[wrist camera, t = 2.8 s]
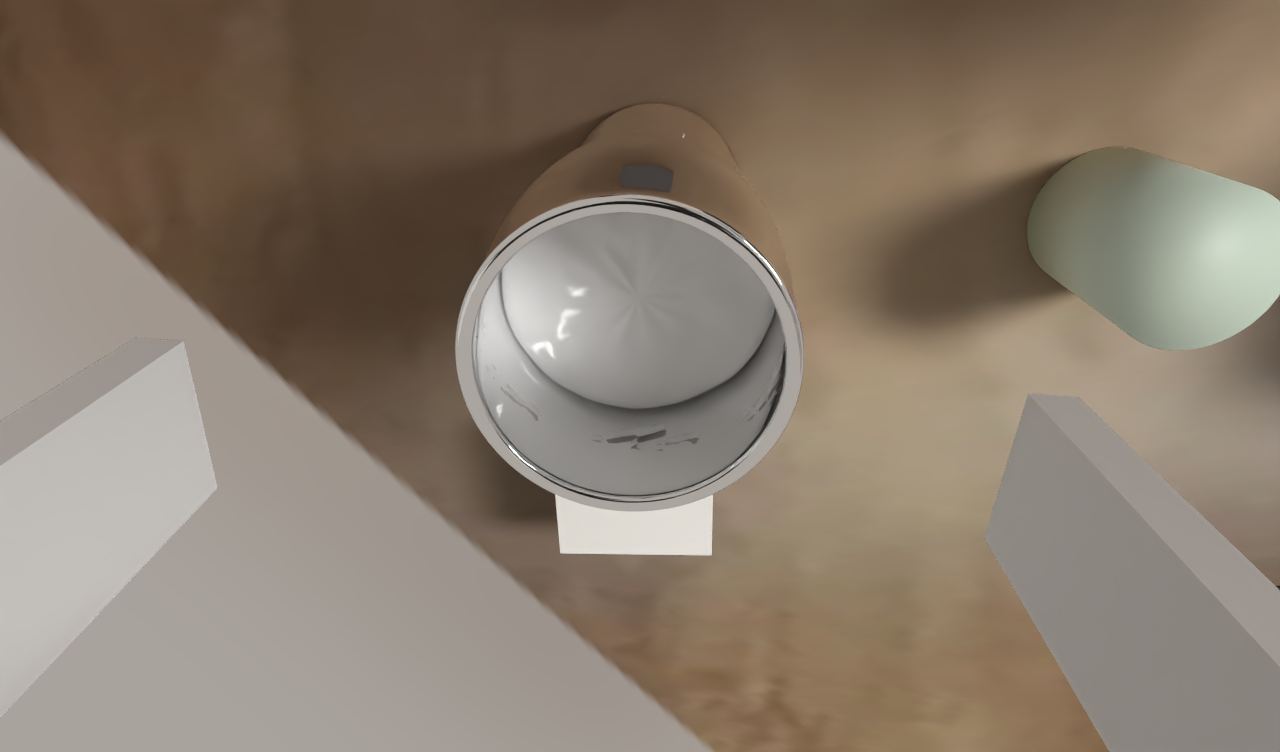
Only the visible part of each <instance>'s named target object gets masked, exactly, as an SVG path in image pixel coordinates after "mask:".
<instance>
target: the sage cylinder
mask: <svg viewBox="0 0 1280 752" xmlns="http://www.w3.org/2000/svg"><path fill="white" fill-rule="evenodd" d="M1027 241H1028V246H1029V249H1030V252H1031V255H1032V257H1033V258H1034V260H1035V262H1036V263H1037V264H1038V266H1039V267H1040V268H1041V269H1042V270H1043V271H1044V272H1046V273H1047V274H1048V275H1049V276H1051V277H1052V278H1053V279H1055V280H1056V281H1057V282H1059V283H1060V284H1061V285H1063V286H1064V287H1065V288H1067V289H1068V290H1069V291H1071V292H1072V293H1073V294H1075V295H1076V296H1077V297H1079V298H1080V299H1082V300H1083V301H1084V302H1086V303H1087V304H1088V305H1090V306H1091V307H1092V308H1094V309H1095V310H1096V311H1098V312H1099V313H1100V314H1102V315H1103V316H1104V317H1106V318H1107V319H1108V320H1110V321H1111V322H1112V323H1114V324H1115V325H1116V326H1118V327H1119V328H1120V329H1122V330H1123V331H1124V332H1126V333H1127V334H1128V335H1130V336H1131V337H1132V338H1134V339H1136V340H1137V341H1139V342H1141V343H1143V344H1145V345H1148V346H1150V347H1154V348H1158V349H1163V350H1177V351H1182V350H1192V349H1197V348H1202V347H1206V346H1209V345H1212V344H1215V343H1218V342H1220V341H1223V340H1225V339H1227V338H1229V337H1231V336H1233V335H1235V334H1237V333H1239V332H1240V331H1242V330H1243V329H1245V328H1246V327H1248V326H1249V325H1251V324H1252V323H1253V322H1254V321H1256V320H1257V319H1258V318H1259V317H1260V316H1261V315H1262V314H1264V313H1265V312H1266V311H1267V310H1268V309H1269V308H1270V306H1271V305H1272V304H1273V303H1274V302H1275V300H1276V299H1277V298H1278V296H1279V295H1280V201H1279V200H1278V199H1276V198H1275V197H1274V196H1272V195H1271V194H1269V193H1267V192H1265V191H1263V190H1261V189H1258V188H1255V187H1252V186H1249V185H1246V184H1243V183H1240V182H1237V181H1234V180H1231V179H1228V178H1225V177H1221V176H1218V175H1215V174H1212V173H1209V172H1206V171H1203V170H1200V169H1197V168H1194V167H1191V166H1188V165H1184V164H1181V163H1178V162H1175V161H1172V160H1169V159H1166V158H1163V157H1160V156H1157V155H1154V154H1151V153H1147V152H1144V151H1141V150H1138V149H1134V148H1129V147H1107V148H1101V149H1097V150H1093V151H1091V152H1088V153H1085V154H1083V155H1081V156H1079V157H1077V158H1075V159H1073V160H1072V161H1070V162H1069V163H1067V164H1066V165H1064V166H1063V167H1062V168H1060V169H1059V170H1058V171H1057V172H1056V173H1055V174H1054V175H1053V176H1052V177H1051V178H1050V179H1049V180H1048V181H1047V182H1046V183H1045V185H1044V186H1043V187H1042V189H1041V190H1040V192H1039V193H1038V195H1037V197H1036V199H1035V201H1034V203H1033V205H1032V208H1031V211H1030V213H1029V218H1028V222H1027Z"/></svg>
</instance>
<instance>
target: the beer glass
mask: <svg viewBox="0 0 1280 752" xmlns="http://www.w3.org/2000/svg"><path fill="white" fill-rule="evenodd" d="M804 355H805V354H804V340H803V333H802V327H801V323H800V319H799V315H798V312H797V307H796V300H795V293H794V288H793V282H792V276H791V271H790V267H789V264H788V260H787V257H786V254H785V250H784V247H783V244H782V241H781V238H780V235H779V233H778V230H777V228H776V226H775V224H774V222H773V220H772V218H771V216H770V214H769V213H768V211H767V209H766V207H765V206H764V204H763V202H762V200H761V199H760V197H759V196H758V194H757V193H756V191H755V190H754V189H753V187H752V186H751V185H750V184H749V182H748V181H747V180H746V179H745V178H744V177H743V176H742V175H741V174H740V173H739V172H738V171H737V169H736V165H735V161H734V159H733V156H732V154H731V151H730V150H729V148H728V146H727V144H726V143H725V141H724V139H723V138H722V137H721V135H720V134H719V133H718V132H717V131H716V130H715V129H714V128H713V127H712V126H711V125H710V124H709V123H708V122H707V121H705V120H704V119H703V118H701V117H700V116H698V115H696V114H695V113H693V112H691V111H688V110H686V109H684V108H681V107H677V106H673V105H668V104H659V103H649V104H640V105H635V106H631V107H628V108H625V109H622V110H620V111H618V112H616V113H614V114H612V115H611V116H609V117H608V118H606V119H605V120H604V121H602V122H601V123H600V124H599V125H598V126H597V127H596V128H595V129H594V130H593V131H592V132H591V133H590V134H589V135H588V136H587V138H586V139H585V140H584V142H583V143H582V145H581V147H579V148H577V149H575V150H573V151H571V152H570V153H568V154H566V155H565V156H563V157H562V158H560V159H559V160H557V161H556V162H555V163H554V164H552V165H551V166H550V167H549V168H548V169H547V170H546V171H545V172H543V173H542V174H541V175H540V176H539V177H538V178H537V179H536V180H535V181H534V182H533V183H532V184H531V185H530V186H529V187H528V188H527V189H526V190H525V192H524V193H523V194H522V195H521V197H520V198H519V199H518V200H517V202H516V203H515V205H514V206H513V208H512V209H511V211H510V212H509V214H508V215H507V217H506V218H505V220H504V221H503V223H502V224H501V226H500V228H499V230H498V231H497V233H496V235H495V237H494V239H493V241H492V243H491V245H490V247H489V249H488V251H487V253H486V256H485V258H484V260H483V262H482V264H481V265H480V267H479V268H478V270H477V272H476V273H475V275H474V277H473V279H472V280H471V282H470V284H469V287H468V289H467V291H466V293H465V296H464V299H463V302H462V305H461V308H460V312H459V316H458V321H457V327H456V335H455V360H456V369H457V375H458V380H459V384H460V388H461V391H462V394H463V397H464V400H465V403H466V405H467V407H468V410H469V412H470V414H471V416H472V418H473V420H474V421H475V423H476V425H477V427H478V428H479V430H480V431H481V433H482V434H483V436H484V437H485V438H486V440H487V441H488V442H489V444H490V445H491V446H492V447H493V448H494V450H495V451H496V452H497V453H498V454H499V455H500V456H501V457H502V458H503V459H504V460H505V461H506V462H507V463H508V464H509V465H510V466H512V467H513V468H514V469H515V470H516V471H518V472H519V473H520V474H522V475H523V476H524V477H526V478H527V479H529V480H530V481H532V482H533V483H535V484H537V485H538V486H540V487H542V488H544V489H546V490H547V491H549V492H551V493H554V494H556V495H558V496H560V497H563V498H565V499H568V500H571V501H574V502H577V503H580V504H583V505H587V506H591V507H596V508H601V509H607V510H616V511H654V510H662V509H668V508H673V507H678V506H682V505H686V504H689V503H692V502H695V501H698V500H701V499H703V498H706V497H708V496H710V495H713V494H715V493H717V492H719V491H721V490H722V489H724V488H726V487H728V486H730V485H731V484H733V483H734V482H736V481H737V480H739V479H740V478H741V477H743V476H744V475H746V474H747V473H748V472H749V471H750V470H752V469H753V468H754V467H755V466H756V465H757V464H758V463H759V462H760V461H761V460H762V459H763V458H764V457H765V456H766V455H767V454H768V453H769V451H770V450H771V449H772V448H773V447H774V445H775V444H776V443H777V441H778V440H779V438H780V437H781V435H782V434H783V432H784V430H785V429H786V427H787V425H788V423H789V421H790V419H791V417H792V415H793V412H794V410H795V407H796V404H797V401H798V398H799V394H800V390H801V386H802V380H803V373H804Z"/></svg>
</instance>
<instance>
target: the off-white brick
mask: <svg viewBox="0 0 1280 752" xmlns="http://www.w3.org/2000/svg"><path fill="white" fill-rule="evenodd" d="M555 498H556V510H557V521H558V532H559V543H560V553H579V554H654V555H712V510H713V495H710V496H708V497H706V498H703V499H701V500H698V501H695V502H692V503H689V504H686V505H682V506H678V507H673V508H668V509H662V510H654V511H616V510H607V509H601V508H596V507H591V506H587V505H583V504H580V503H577V502H574V501H571V500H568V499H565V498H563V497H560V496H558V495H556V494H555Z"/></svg>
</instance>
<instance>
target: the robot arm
mask: <svg viewBox="0 0 1280 752" xmlns="http://www.w3.org/2000/svg"><path fill="white" fill-rule="evenodd" d="M216 489H217V484H216V479H215V475H214V470H213V466H212V462H211V457H210V453H209V449H208V444H207V440H206V435H205V431H204V427H203V422H202V418H201V413H200V409H199V405H198V401H197V396H196V391H195V387H194V383H193V378H192V374H191V370H190V365H189V361H188V356H187V352H186V348H185V343H184V341H181V340H164V339H148V338H134V339H132V340H131V341H129V342H128V343H126V344H124V345H123V346H121V347H119V348H118V349H116V350H115V351H113V352H111V353H110V354H108V355H106V356H105V357H103V358H102V359H100V360H98V361H97V362H95V363H93V364H92V365H90V366H89V367H87V368H85V369H84V370H82V371H80V372H79V373H77V374H75V375H74V376H72V377H71V378H69V379H67V380H66V381H64V382H62V383H61V384H59V385H58V386H56V387H54V388H53V389H51V390H49V391H48V392H46V393H45V394H43V395H41V396H40V397H38V398H36V399H35V400H33V401H32V402H30V403H28V404H27V405H25V406H24V407H22V408H20V409H19V410H17V411H15V412H14V413H12V414H10V415H9V416H7V417H6V418H4V419H2V420H1V421H0V717H1V716H2V715H3V714H4V713H5V712H6V711H7V710H8V709H9V708H10V707H11V706H12V705H13V704H14V703H15V701H16V700H17V699H18V698H19V697H20V696H21V695H22V694H23V693H24V692H25V691H26V690H27V689H28V688H29V687H30V686H31V685H32V684H33V682H34V681H35V680H36V679H37V678H38V677H39V676H40V675H41V674H42V673H43V672H44V671H45V670H46V669H47V668H48V667H49V666H50V665H51V663H52V662H53V661H54V660H55V659H56V658H57V657H58V656H59V655H60V654H61V653H62V652H63V651H64V650H65V649H66V648H67V647H68V646H69V644H70V643H71V642H72V641H73V640H74V639H75V638H76V637H77V636H78V635H79V634H80V633H81V632H82V630H84V629H85V628H86V626H87V625H88V624H89V623H90V622H91V621H92V620H93V619H94V618H95V617H96V616H97V615H98V614H99V613H100V612H101V611H102V610H103V609H104V608H105V606H106V605H107V604H108V603H109V602H110V601H111V600H112V599H113V598H114V596H116V595H117V594H118V593H119V592H120V591H121V590H122V588H123V587H124V586H125V585H126V584H127V583H128V582H129V581H130V580H131V579H132V578H133V577H134V576H135V575H136V574H137V573H138V572H139V571H140V569H141V568H142V567H143V566H144V565H145V564H146V563H147V562H148V561H149V560H150V559H151V558H152V557H153V556H154V555H155V554H156V553H157V552H158V550H159V549H160V548H161V547H162V546H163V545H164V544H165V543H166V542H167V541H168V540H169V539H170V538H171V537H172V536H173V534H175V533H176V531H177V530H178V529H179V528H180V527H181V526H182V525H183V524H184V523H185V522H186V521H187V520H188V519H189V518H190V516H192V514H193V513H194V512H195V511H196V510H197V509H198V508H199V507H200V506H201V505H202V504H203V503H204V502H205V501H206V500H207V499H208V498H209V497H210V496H211V494H212V493H213V492H214V491H215V490H216ZM984 539H985V541H986V542H987V544H988V546H989V547H990V549H991V551H992V552H993V554H994V556H995V558H996V559H997V561H998V563H999V564H1000V566H1001V568H1002V570H1003V571H1004V573H1005V575H1006V576H1007V578H1008V580H1009V581H1010V583H1011V585H1012V587H1013V588H1014V590H1015V592H1016V593H1017V595H1018V597H1019V599H1020V600H1021V602H1022V604H1023V605H1024V607H1025V609H1026V610H1027V612H1028V614H1029V616H1030V617H1031V619H1032V621H1033V622H1034V624H1035V626H1036V627H1037V629H1038V631H1039V633H1040V634H1041V636H1042V638H1043V639H1044V641H1045V643H1046V645H1047V646H1048V648H1049V650H1050V651H1051V653H1052V655H1053V656H1054V658H1055V660H1056V662H1057V663H1058V665H1059V667H1060V668H1061V670H1062V672H1063V674H1064V675H1065V677H1066V679H1067V680H1068V682H1069V684H1070V685H1071V687H1072V689H1073V691H1074V692H1075V694H1076V696H1077V697H1078V699H1079V701H1080V702H1081V704H1082V706H1083V708H1084V709H1085V711H1086V713H1087V714H1088V716H1089V718H1090V720H1091V721H1092V723H1093V725H1094V726H1095V728H1096V730H1097V731H1098V733H1099V735H1100V737H1101V738H1102V740H1103V742H1104V743H1105V745H1106V747H1107V749H1108V750H1109V752H1280V586H1275V585H1274V584H1273V583H1272V582H1271V581H1270V580H1269V579H1268V578H1267V577H1265V576H1264V575H1263V574H1262V573H1261V572H1260V571H1259V570H1258V569H1257V568H1256V567H1255V566H1254V565H1253V564H1252V563H1251V562H1250V561H1249V560H1248V559H1247V558H1246V557H1245V556H1244V555H1243V554H1242V553H1240V552H1239V551H1238V550H1237V549H1236V548H1235V547H1234V546H1233V545H1232V544H1231V543H1230V542H1229V541H1228V540H1227V539H1226V538H1225V537H1224V536H1223V535H1222V534H1221V533H1220V532H1219V531H1218V530H1217V529H1215V528H1214V527H1213V526H1212V525H1211V524H1210V523H1209V522H1208V521H1207V520H1206V519H1205V518H1204V517H1203V516H1202V515H1201V514H1200V513H1199V512H1198V511H1197V510H1196V509H1195V508H1194V507H1193V506H1192V505H1190V504H1189V503H1188V502H1187V501H1186V500H1185V499H1184V498H1183V497H1182V496H1181V495H1180V494H1179V493H1178V492H1177V491H1176V490H1175V489H1174V488H1173V487H1172V486H1171V485H1170V484H1169V483H1168V482H1167V481H1165V480H1164V479H1163V478H1162V477H1161V476H1160V475H1159V474H1158V473H1157V472H1156V471H1155V470H1154V469H1153V468H1152V467H1151V466H1150V465H1149V464H1148V463H1147V462H1146V461H1145V460H1144V459H1143V458H1142V457H1140V456H1139V455H1138V454H1137V453H1136V452H1135V451H1134V450H1133V449H1132V448H1131V447H1130V446H1129V445H1128V444H1127V443H1126V442H1125V441H1124V440H1123V439H1122V438H1121V437H1120V436H1119V435H1118V434H1117V433H1115V432H1114V431H1113V430H1112V429H1111V428H1110V427H1109V426H1108V425H1107V424H1106V423H1105V422H1104V421H1103V420H1102V419H1101V418H1100V417H1099V416H1098V415H1097V414H1096V413H1095V412H1094V411H1093V410H1092V409H1090V408H1089V407H1088V406H1087V405H1086V404H1085V403H1084V402H1083V401H1082V400H1081V399H1080V398H1079V397H1073V396H1057V395H1042V394H1028V396H1027V400H1026V403H1025V406H1024V409H1023V413H1022V416H1021V419H1020V422H1019V426H1018V429H1017V432H1016V435H1015V439H1014V442H1013V445H1012V448H1011V452H1010V455H1009V458H1008V461H1007V465H1006V468H1005V471H1004V474H1003V478H1002V481H1001V484H1000V488H999V491H998V494H997V497H996V501H995V504H994V507H993V510H992V514H991V517H990V520H989V523H988V527H987V530H986V533H985V536H984Z"/></svg>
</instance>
